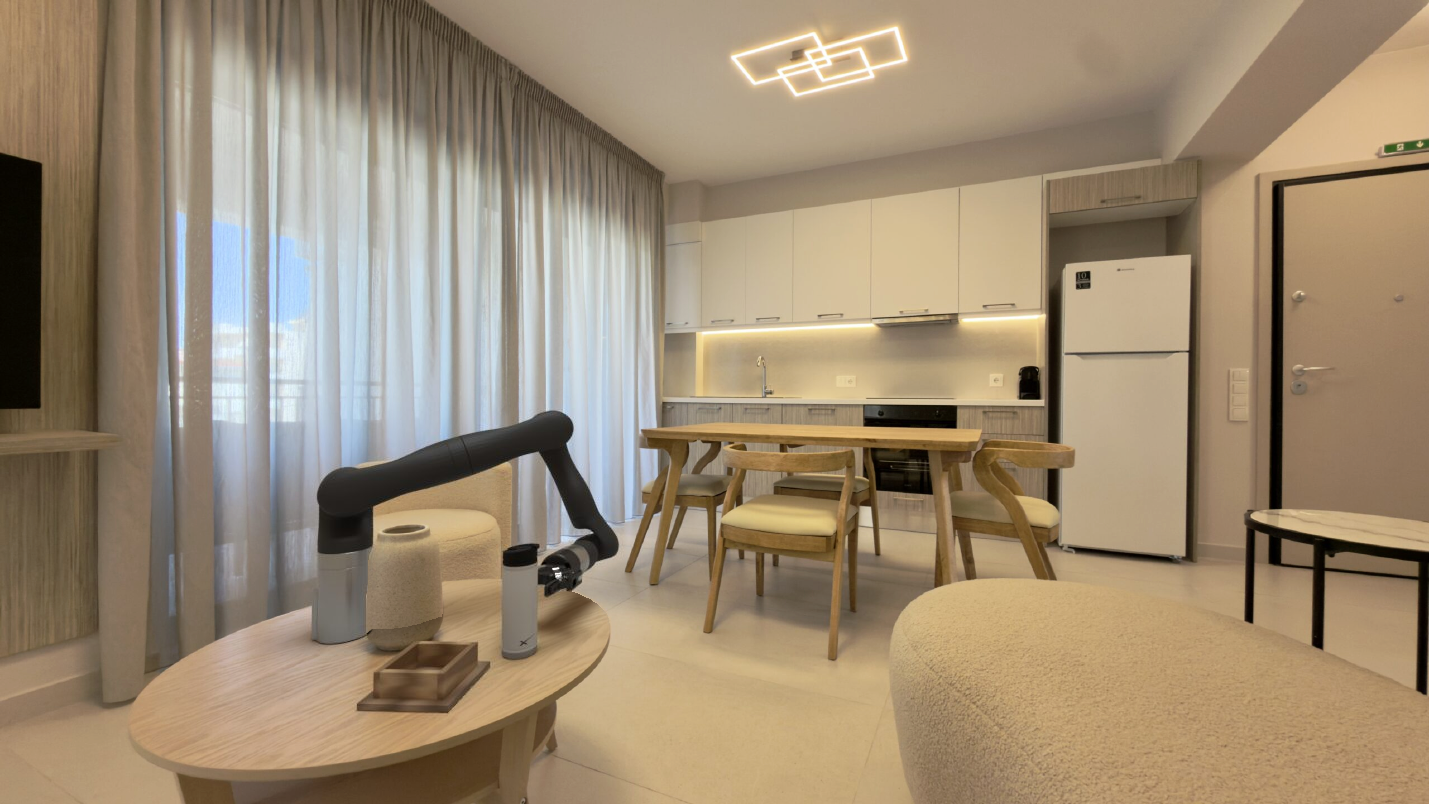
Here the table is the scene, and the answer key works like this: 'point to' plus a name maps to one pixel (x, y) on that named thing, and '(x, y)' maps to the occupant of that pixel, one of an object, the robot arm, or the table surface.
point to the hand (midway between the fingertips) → (525, 590)
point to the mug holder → (425, 677)
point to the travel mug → (519, 601)
